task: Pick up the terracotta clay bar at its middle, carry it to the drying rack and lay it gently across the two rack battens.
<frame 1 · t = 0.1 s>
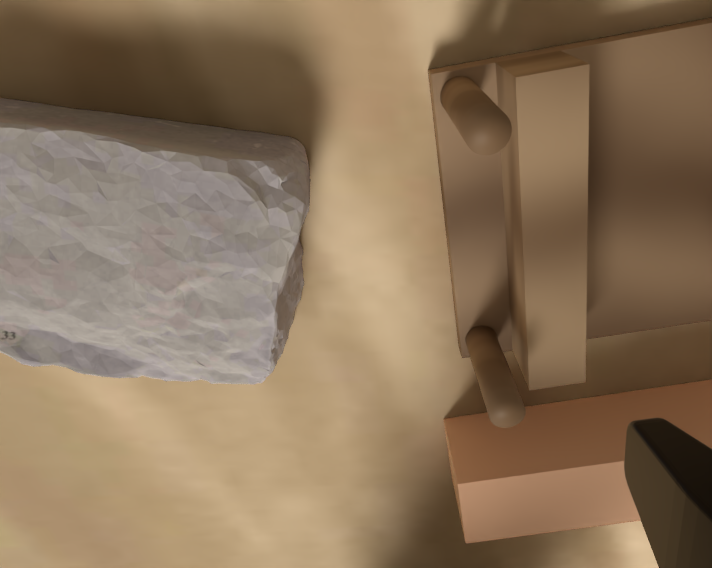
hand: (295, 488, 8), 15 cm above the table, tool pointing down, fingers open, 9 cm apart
clay bar: (601, 421, 27), on the table
stone block: (150, 238, 23), on the table
rack: (639, 192, 22), on the table
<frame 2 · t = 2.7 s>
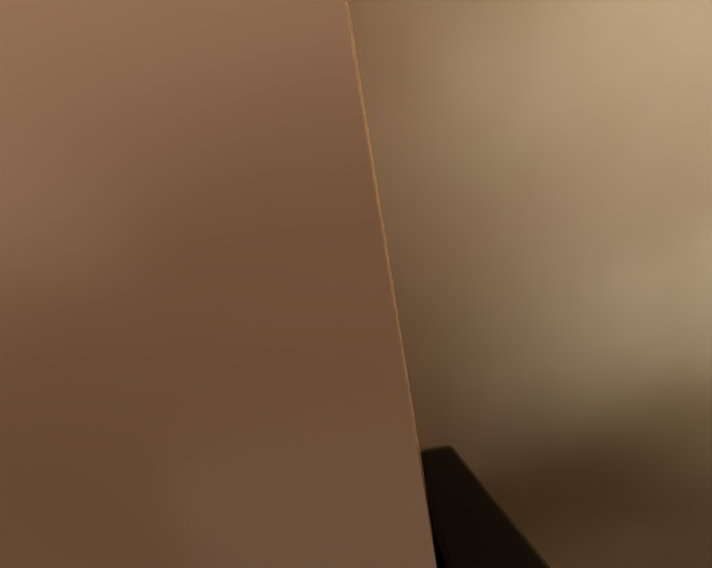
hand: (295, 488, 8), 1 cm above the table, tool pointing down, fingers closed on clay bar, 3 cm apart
clay bar: (300, 429, 9), on the table, touching gripper
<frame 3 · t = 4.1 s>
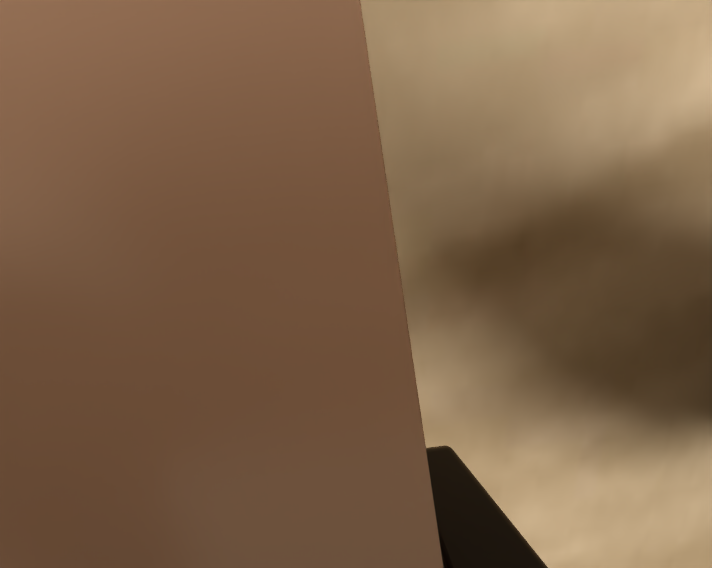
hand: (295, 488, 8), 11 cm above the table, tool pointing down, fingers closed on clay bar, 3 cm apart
clay bar: (303, 429, 9), point 10 cm above the table, touching gripper
when the fingers open (6 cm above the table, at t = 5.7 s): clay bar drops 1 cm, resting on rack.
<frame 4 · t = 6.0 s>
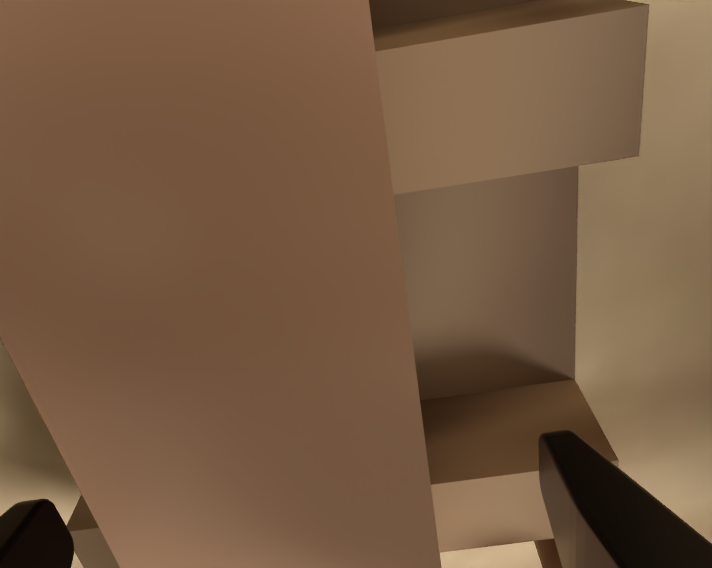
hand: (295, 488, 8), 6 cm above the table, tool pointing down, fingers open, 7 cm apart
clay bar: (306, 374, 10), point 3 cm above the table, touching rack
rack: (311, 283, 13), on the table
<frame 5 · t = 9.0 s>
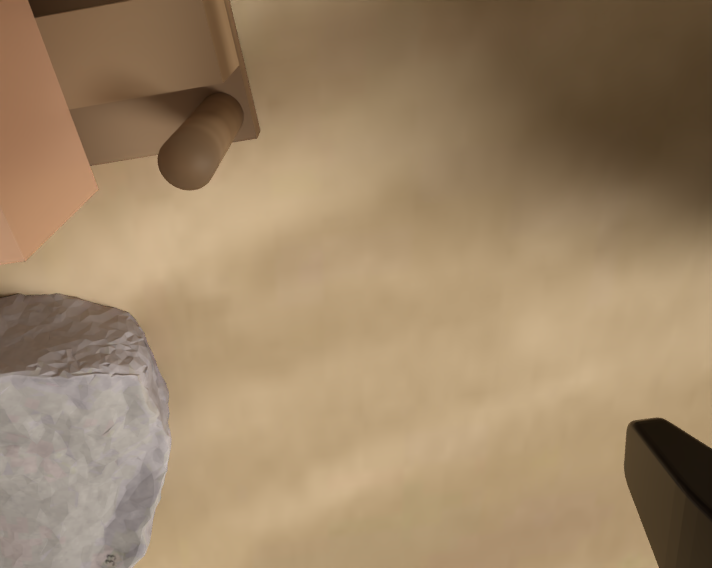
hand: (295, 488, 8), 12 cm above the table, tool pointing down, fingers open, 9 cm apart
stone block: (55, 416, 24), on the table
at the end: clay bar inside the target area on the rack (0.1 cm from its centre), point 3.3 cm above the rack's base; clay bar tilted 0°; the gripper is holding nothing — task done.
